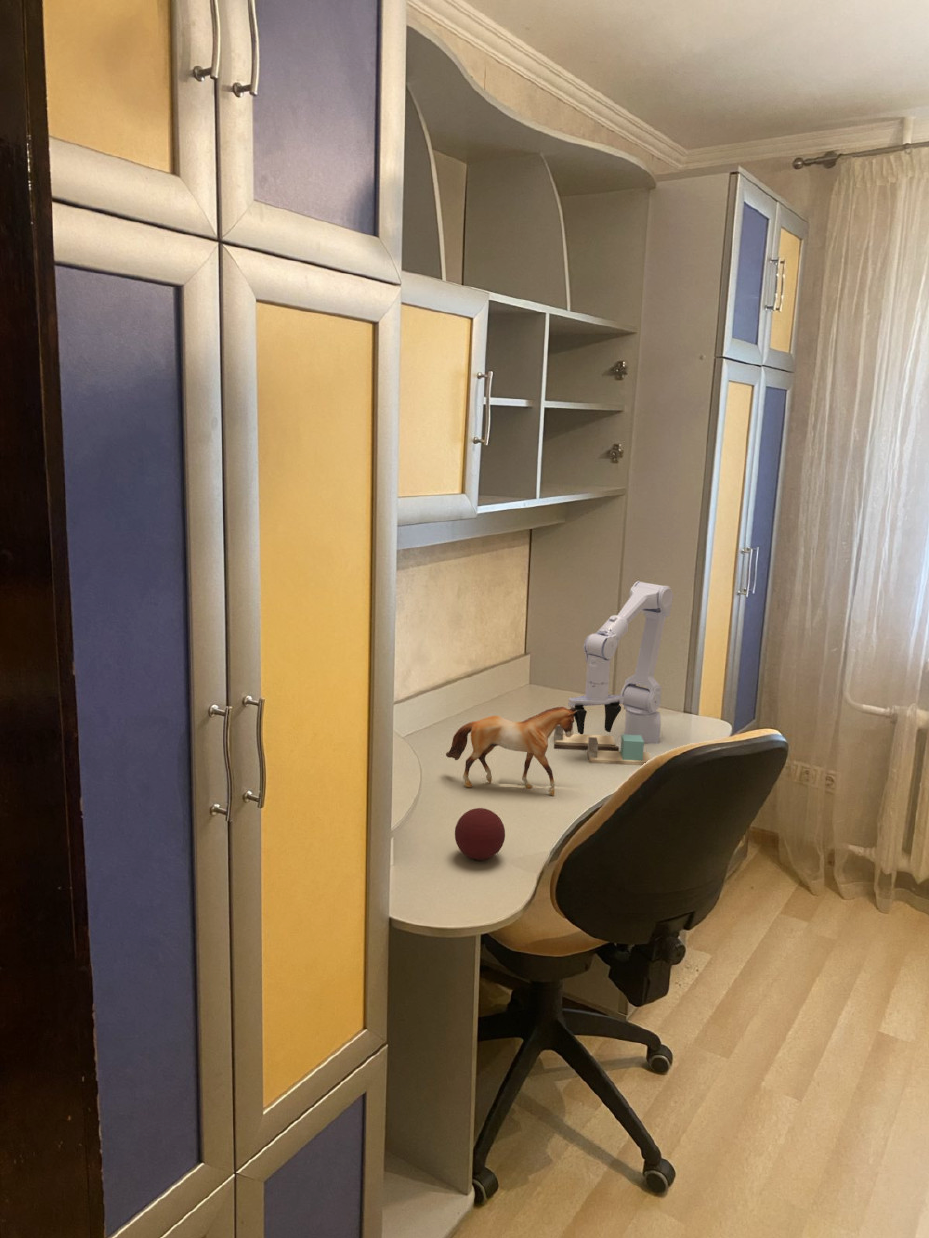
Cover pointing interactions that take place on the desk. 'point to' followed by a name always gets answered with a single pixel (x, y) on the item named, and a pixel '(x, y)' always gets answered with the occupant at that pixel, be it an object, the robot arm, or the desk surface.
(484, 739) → the horse figurine
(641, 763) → the strip
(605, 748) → the lane board
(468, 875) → the desk surface
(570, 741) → the empty strip
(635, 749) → the teal cube
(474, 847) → the decorative ball
